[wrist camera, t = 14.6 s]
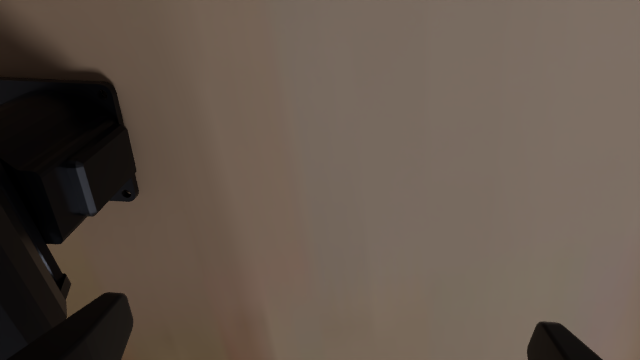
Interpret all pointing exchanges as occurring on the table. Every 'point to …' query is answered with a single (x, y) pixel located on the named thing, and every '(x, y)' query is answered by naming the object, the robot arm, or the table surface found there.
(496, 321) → the table surface
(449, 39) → the table surface
